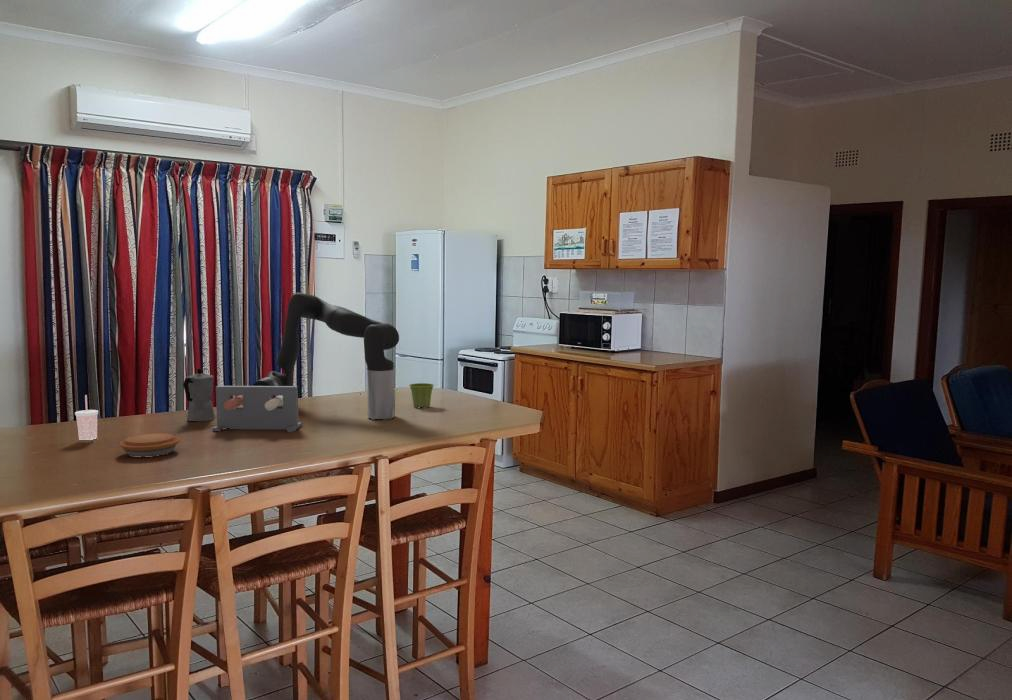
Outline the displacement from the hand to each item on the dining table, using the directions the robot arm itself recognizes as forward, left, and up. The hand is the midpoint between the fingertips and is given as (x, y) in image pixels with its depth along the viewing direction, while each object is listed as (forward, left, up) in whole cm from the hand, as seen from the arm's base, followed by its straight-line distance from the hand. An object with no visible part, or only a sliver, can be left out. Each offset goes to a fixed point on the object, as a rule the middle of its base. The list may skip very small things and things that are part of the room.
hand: (248, 396), depth 252 cm
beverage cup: (+38, +30, -9) cm, 50 cm away
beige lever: (-13, +11, -2) cm, 17 cm away
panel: (-7, +11, -9) cm, 16 cm away
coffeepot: (+18, -3, -9) cm, 21 cm away
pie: (+12, +45, -9) cm, 48 cm away
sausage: (0, +11, -2) cm, 12 cm away
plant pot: (-56, -31, -9) cm, 64 cm away
